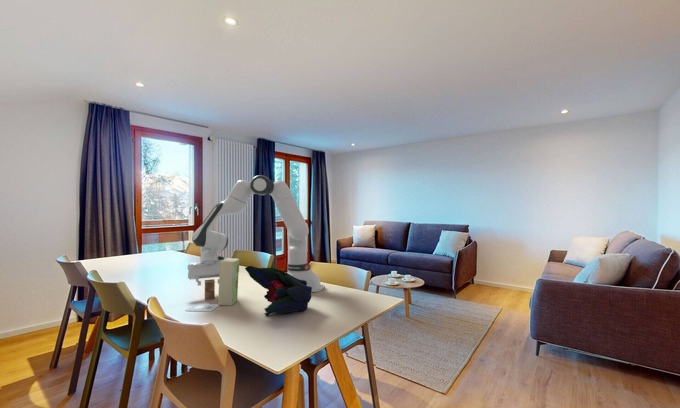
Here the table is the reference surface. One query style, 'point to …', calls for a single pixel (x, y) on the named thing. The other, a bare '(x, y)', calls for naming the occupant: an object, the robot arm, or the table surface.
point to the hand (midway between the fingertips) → (209, 284)
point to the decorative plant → (281, 290)
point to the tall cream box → (228, 281)
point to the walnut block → (209, 289)
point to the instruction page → (203, 307)
